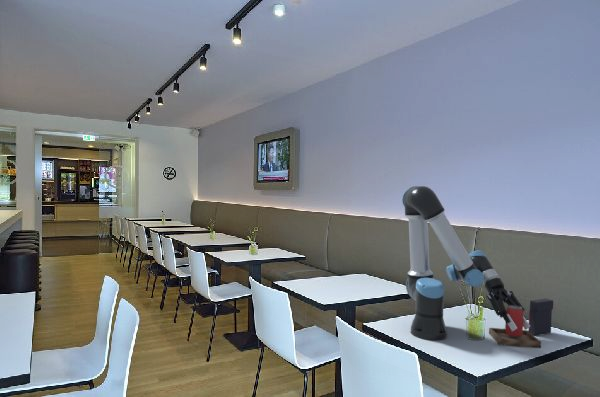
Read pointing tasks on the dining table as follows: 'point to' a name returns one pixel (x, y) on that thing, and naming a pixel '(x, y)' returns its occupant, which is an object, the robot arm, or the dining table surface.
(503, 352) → the dining table surface
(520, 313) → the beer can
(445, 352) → the dining table surface
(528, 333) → the walnut tray
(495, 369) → the dining table surface
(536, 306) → the dark grey upright block
